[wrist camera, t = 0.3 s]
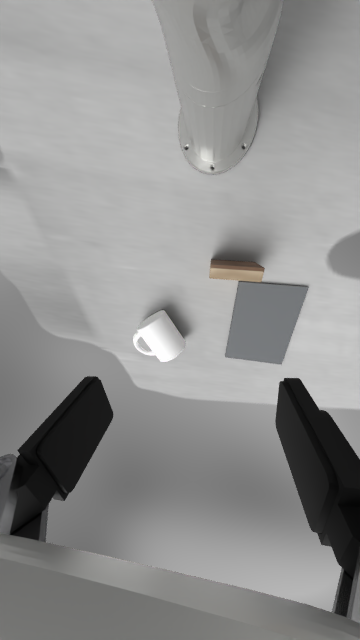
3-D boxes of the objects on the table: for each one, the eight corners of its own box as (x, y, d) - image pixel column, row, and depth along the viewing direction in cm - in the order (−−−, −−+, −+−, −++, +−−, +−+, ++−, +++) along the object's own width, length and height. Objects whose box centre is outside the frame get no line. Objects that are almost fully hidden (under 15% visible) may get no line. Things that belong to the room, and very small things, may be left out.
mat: (238, 281, 40) (239, 281, 39) (307, 286, 38) (308, 287, 37) (225, 355, 48) (225, 357, 48) (280, 363, 46) (281, 364, 46)
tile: (211, 259, 39) (210, 264, 32) (254, 262, 38) (264, 268, 30) (209, 270, 40) (209, 278, 33) (252, 273, 39) (261, 282, 31)
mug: (167, 305, 45) (158, 319, 38) (188, 336, 48) (183, 354, 41) (131, 326, 49) (118, 341, 42) (152, 353, 52) (143, 372, 45)
